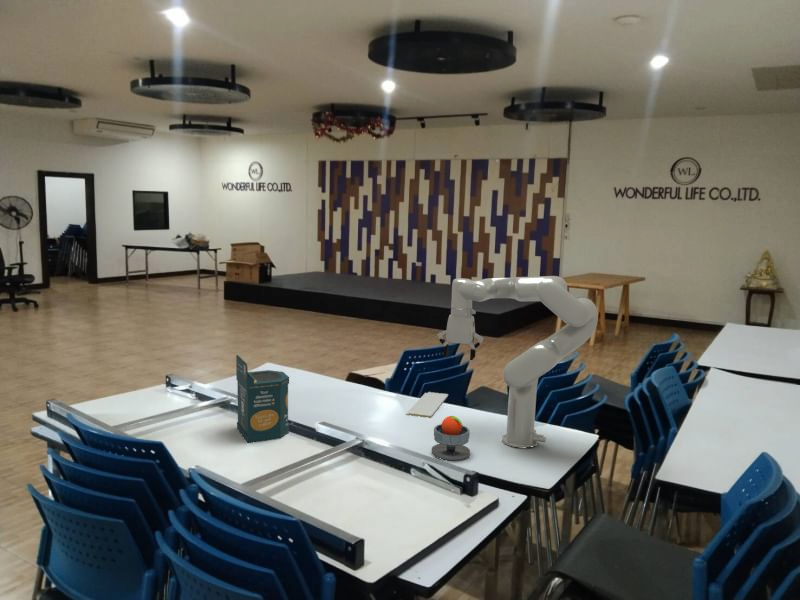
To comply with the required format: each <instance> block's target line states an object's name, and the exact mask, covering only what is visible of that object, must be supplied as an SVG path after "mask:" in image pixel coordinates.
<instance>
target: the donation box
mask: <svg viewBox="0 0 800 600" xmlns="http://www.w3.org/2000/svg"><path fill="white" fill-rule="evenodd" d="M235 360H236V362H235V364H236V365H235V368H236V369H235V370H236V376H235V377H236V381H237V422H236V429H237V431H238V430H239V431H238V432H239V434H240V435H241V434H242V435H241V436H242V438H243V437H244V438H243V439H244V441H245V440H246V441H245V442H246V444H247V443H248V444H254V443H259V442H266V441H272V440H280V439H283V438H284V437H285V436H286V435H288V434H290V426H289V384H290V376H288V375H287V374H286V373H285V372H284V371H280V370H270V369H267V370H258V371H248V364H247V362H245V360H244V359H243V358H242V357H241V356H240V355H239V354H236V359H235ZM253 442H254V443H253Z"/></svg>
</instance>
